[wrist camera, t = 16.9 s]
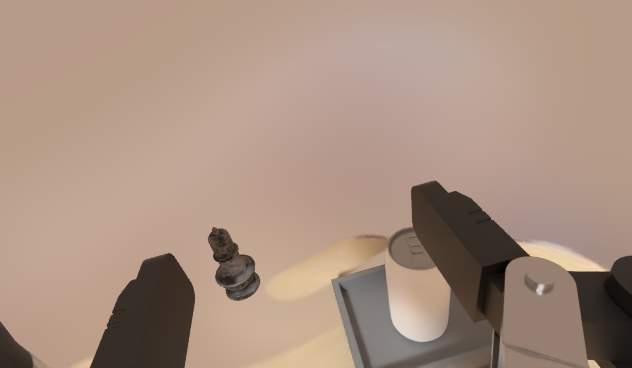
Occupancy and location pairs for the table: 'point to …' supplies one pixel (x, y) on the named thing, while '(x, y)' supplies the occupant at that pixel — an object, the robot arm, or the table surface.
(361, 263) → the table surface
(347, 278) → the tray
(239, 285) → the salt shaker
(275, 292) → the table surface
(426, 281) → the can
